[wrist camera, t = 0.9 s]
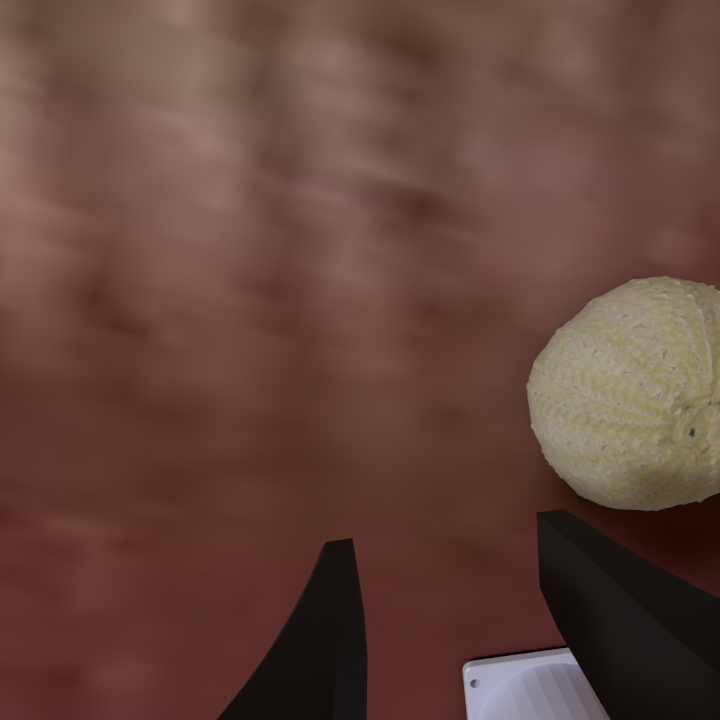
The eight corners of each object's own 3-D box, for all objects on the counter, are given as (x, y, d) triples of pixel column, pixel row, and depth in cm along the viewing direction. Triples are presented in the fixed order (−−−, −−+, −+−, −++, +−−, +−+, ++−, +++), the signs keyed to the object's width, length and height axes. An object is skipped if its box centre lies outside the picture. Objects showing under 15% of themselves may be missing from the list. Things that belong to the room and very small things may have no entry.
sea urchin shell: (749, 517, 20) (723, 608, 14) (561, 445, 25) (485, 490, 19) (832, 298, 18) (841, 301, 12) (606, 267, 23) (536, 258, 17)
